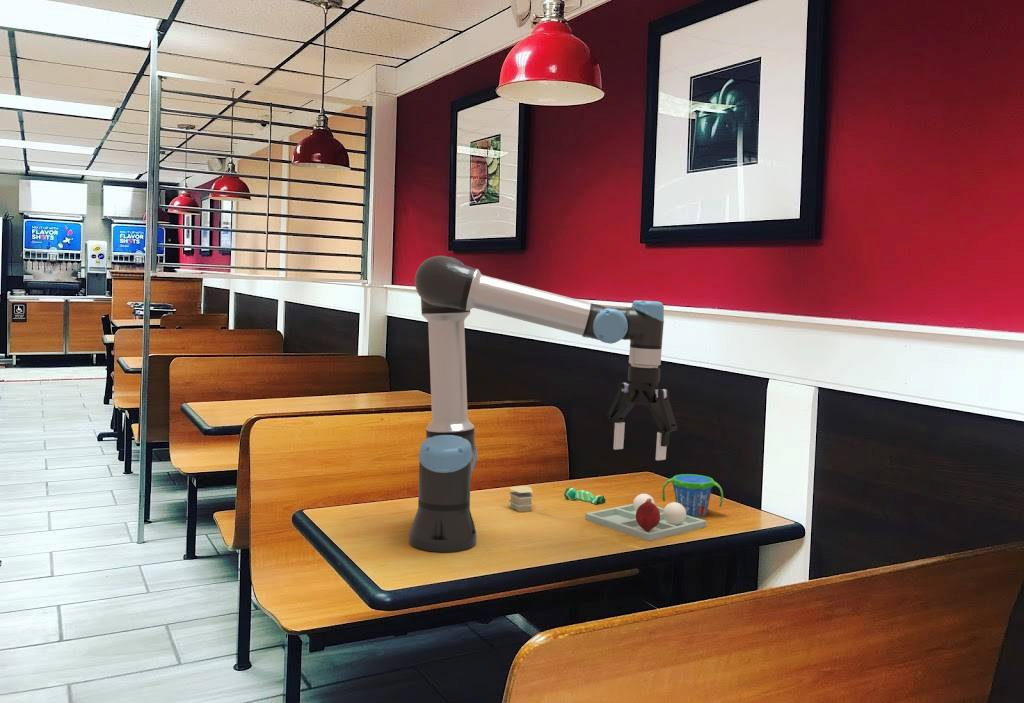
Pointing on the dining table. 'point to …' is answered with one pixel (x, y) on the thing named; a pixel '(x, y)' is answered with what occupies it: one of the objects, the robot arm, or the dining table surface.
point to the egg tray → (627, 523)
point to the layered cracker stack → (521, 498)
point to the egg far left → (641, 500)
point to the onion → (647, 515)
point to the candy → (583, 496)
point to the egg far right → (674, 513)
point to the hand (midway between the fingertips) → (638, 454)
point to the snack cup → (693, 493)
